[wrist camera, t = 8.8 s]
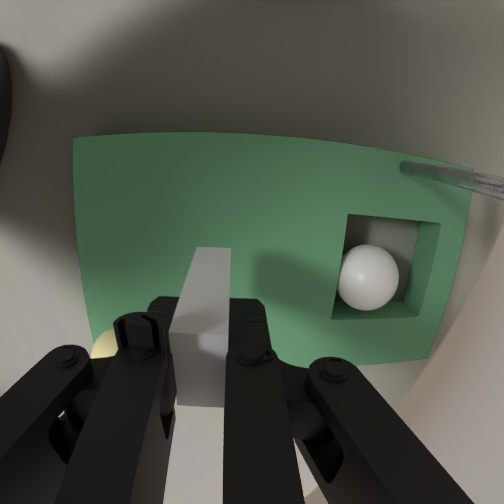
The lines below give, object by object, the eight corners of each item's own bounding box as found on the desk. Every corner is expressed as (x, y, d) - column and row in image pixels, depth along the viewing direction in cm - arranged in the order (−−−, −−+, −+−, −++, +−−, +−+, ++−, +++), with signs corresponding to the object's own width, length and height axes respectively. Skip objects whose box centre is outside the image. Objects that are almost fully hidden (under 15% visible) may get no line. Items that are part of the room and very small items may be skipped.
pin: (398, 173, 16) (560, 221, 5) (403, 101, 14) (564, 79, 4) (410, 175, 16) (570, 223, 5) (415, 104, 14) (575, 89, 4)
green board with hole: (108, 334, 21) (96, 353, 19) (92, 138, 17) (73, 137, 14) (413, 340, 22) (427, 358, 20) (452, 166, 18) (473, 169, 16)
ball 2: (343, 293, 21) (322, 312, 18) (348, 236, 20) (328, 245, 17) (397, 303, 19) (387, 326, 16) (406, 244, 18) (398, 256, 15)
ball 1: (110, 361, 19) (90, 400, 15) (100, 311, 18) (73, 347, 14) (165, 368, 19) (153, 410, 15) (159, 317, 18) (143, 357, 14)
